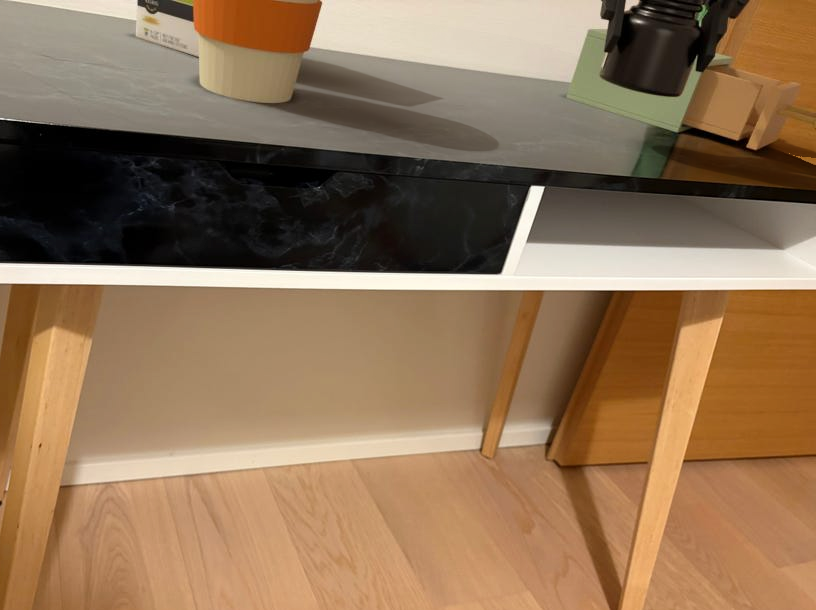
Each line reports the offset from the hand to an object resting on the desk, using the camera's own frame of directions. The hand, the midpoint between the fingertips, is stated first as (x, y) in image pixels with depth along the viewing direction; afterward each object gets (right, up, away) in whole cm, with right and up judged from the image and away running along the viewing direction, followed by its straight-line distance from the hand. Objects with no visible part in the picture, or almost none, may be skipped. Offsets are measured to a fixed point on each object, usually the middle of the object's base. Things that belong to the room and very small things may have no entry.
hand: (658, 53), depth 82 cm
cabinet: (+8, +3, +28) cm, 30 cm away
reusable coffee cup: (-42, -5, -3) cm, 42 cm away
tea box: (-47, +4, +10) cm, 48 cm away
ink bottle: (0, -2, +5) cm, 5 cm away
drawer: (+18, -2, +22) cm, 29 cm away
